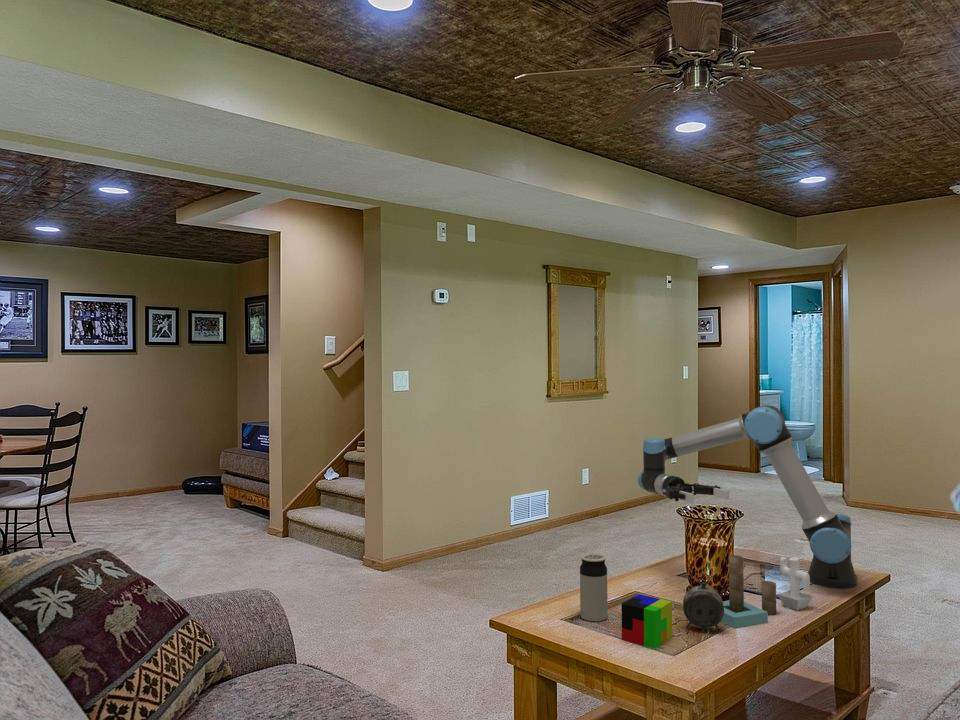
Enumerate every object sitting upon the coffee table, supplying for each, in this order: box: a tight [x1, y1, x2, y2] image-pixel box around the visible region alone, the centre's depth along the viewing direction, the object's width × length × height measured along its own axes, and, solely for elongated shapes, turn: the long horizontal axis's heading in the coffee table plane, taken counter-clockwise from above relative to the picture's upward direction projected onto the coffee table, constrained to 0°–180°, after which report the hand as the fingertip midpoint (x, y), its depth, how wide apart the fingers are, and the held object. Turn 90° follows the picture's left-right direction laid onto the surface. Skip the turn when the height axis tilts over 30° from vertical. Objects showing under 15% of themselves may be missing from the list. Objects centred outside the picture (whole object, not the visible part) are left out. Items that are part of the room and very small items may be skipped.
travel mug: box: [579, 553, 609, 623], centre depth 216 cm, size 8×8×18 cm
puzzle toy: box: [621, 593, 673, 650], centre depth 199 cm, size 10×10×10 cm
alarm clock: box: [682, 572, 724, 634], centre depth 205 cm, size 11×5×16 cm, turn 74°
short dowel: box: [761, 580, 777, 616], centre depth 218 cm, size 4×4×9 cm
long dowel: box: [728, 554, 745, 613], centre depth 214 cm, size 4×4×18 cm
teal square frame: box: [720, 600, 769, 629], centre depth 214 cm, size 12×12×3 cm
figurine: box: [776, 556, 814, 611], centre depth 223 cm, size 7×9×15 cm
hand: (710, 496), depth 234 cm, fingers open, 13 cm apart
